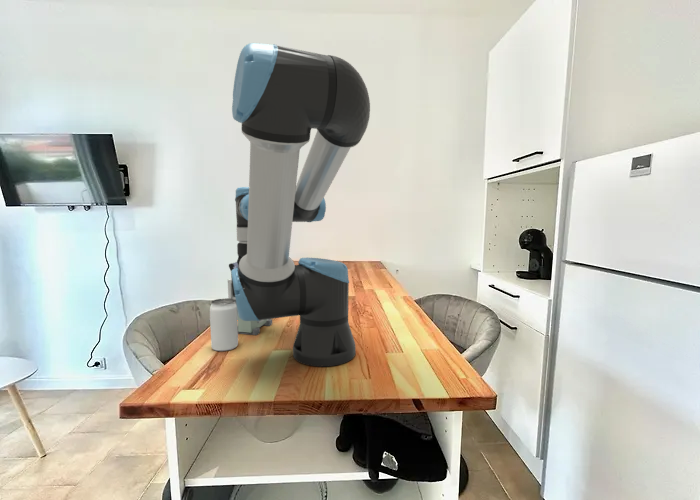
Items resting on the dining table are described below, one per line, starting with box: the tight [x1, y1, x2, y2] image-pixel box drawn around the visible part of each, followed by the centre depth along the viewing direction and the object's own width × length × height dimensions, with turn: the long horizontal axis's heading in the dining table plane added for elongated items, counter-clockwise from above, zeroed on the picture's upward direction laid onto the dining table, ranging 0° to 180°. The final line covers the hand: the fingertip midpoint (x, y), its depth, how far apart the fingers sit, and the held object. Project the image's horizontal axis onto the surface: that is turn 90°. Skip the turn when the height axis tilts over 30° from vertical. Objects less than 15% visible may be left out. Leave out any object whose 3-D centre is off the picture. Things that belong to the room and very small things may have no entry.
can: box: [209, 297, 239, 352], centre depth 89 cm, size 6×6×12 cm
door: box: [237, 316, 267, 333], centre depth 103 cm, size 10×5×10 cm, turn 167°
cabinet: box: [227, 278, 273, 336], centre depth 108 cm, size 18×15×13 cm
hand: (253, 320), depth 104 cm, fingers closed on door, 4 cm apart
